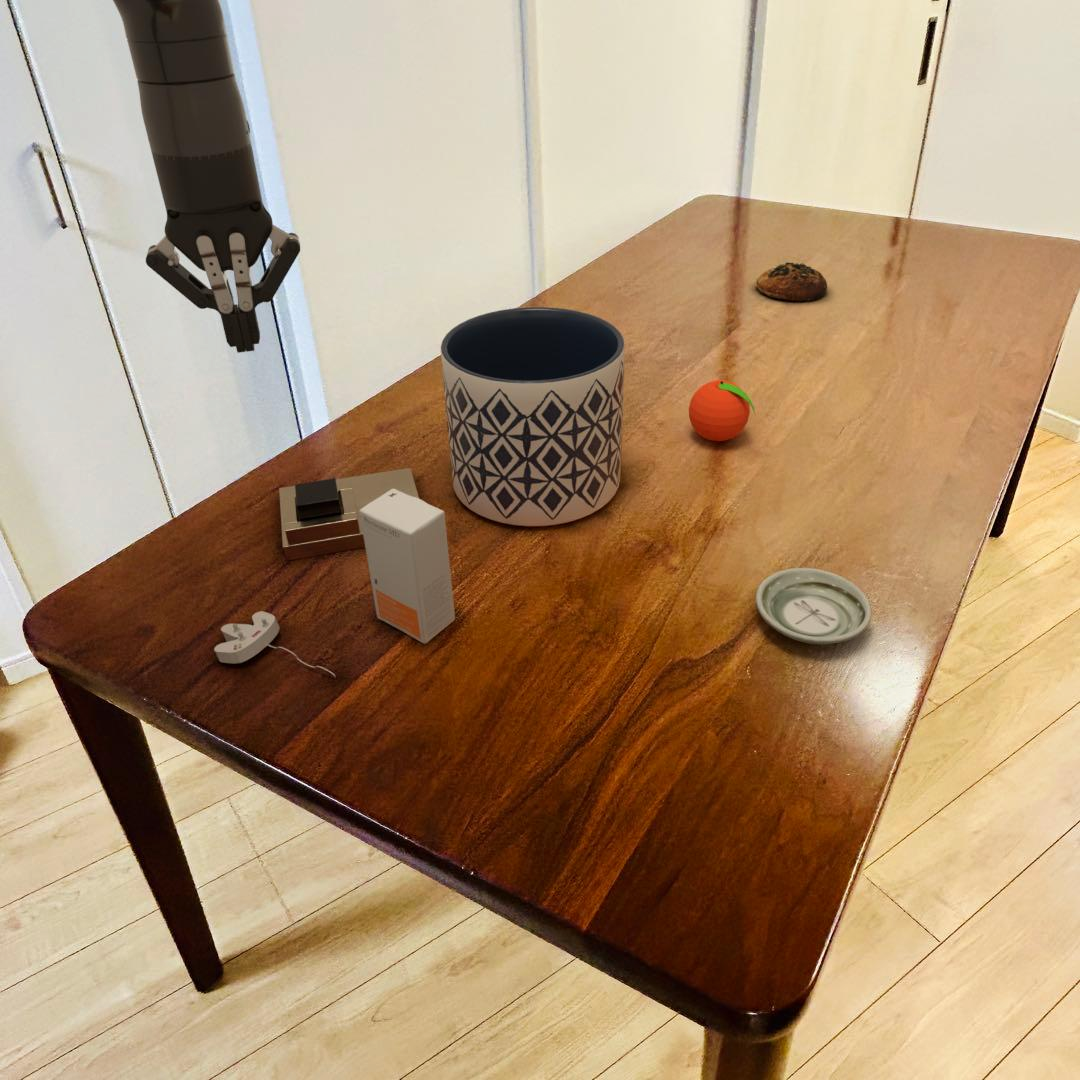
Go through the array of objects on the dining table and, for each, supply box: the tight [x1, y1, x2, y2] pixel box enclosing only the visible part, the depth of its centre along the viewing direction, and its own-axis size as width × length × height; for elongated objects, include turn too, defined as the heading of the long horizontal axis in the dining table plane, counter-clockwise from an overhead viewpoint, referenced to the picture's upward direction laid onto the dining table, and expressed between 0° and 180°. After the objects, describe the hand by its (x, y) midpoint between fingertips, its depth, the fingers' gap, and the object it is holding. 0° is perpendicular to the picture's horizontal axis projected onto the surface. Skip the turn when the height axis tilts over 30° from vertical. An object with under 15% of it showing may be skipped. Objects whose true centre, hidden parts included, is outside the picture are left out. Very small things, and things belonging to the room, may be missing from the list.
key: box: [294, 477, 342, 522], centre depth 89 cm, size 4×4×2 cm
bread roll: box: [754, 262, 828, 303], centre depth 141 cm, size 11×11×5 cm
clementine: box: [688, 379, 756, 442], centre depth 103 cm, size 8×7×7 cm
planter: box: [440, 306, 626, 527], centre depth 93 cm, size 18×18×16 cm
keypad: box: [278, 467, 420, 562], centre depth 93 cm, size 14×11×4 cm
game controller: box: [213, 610, 337, 679], centre depth 77 cm, size 6×12×3 cm, turn 80°
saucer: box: [755, 567, 873, 645], centre depth 78 cm, size 10×10×2 cm
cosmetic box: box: [359, 489, 456, 645], centre depth 77 cm, size 6×4×12 cm
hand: (246, 348), depth 80 cm, fingers closed
